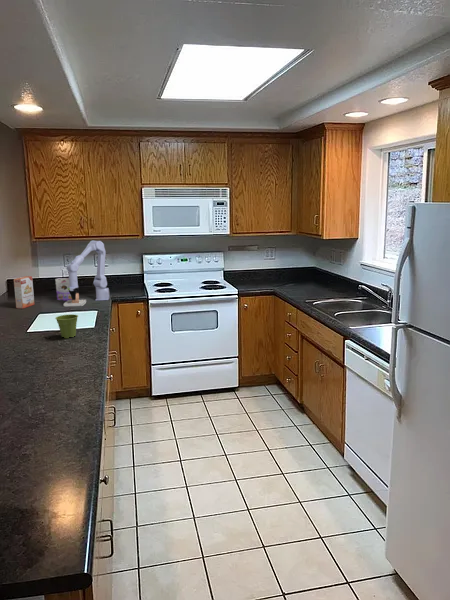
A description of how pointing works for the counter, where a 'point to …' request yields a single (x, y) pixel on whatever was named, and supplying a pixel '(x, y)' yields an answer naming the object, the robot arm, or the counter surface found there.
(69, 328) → the plant pot
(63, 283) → the candy box
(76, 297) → the peach small lump
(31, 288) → the cracker box
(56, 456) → the counter surface
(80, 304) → the tray
